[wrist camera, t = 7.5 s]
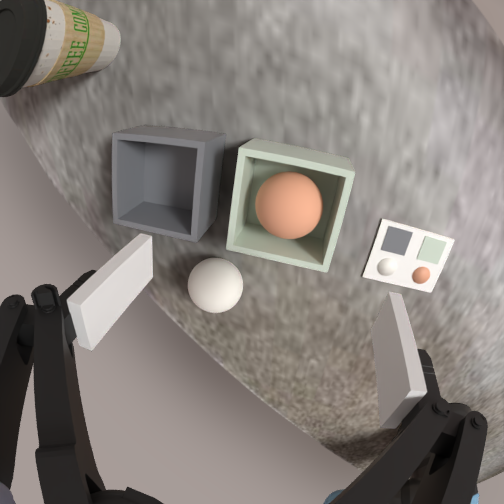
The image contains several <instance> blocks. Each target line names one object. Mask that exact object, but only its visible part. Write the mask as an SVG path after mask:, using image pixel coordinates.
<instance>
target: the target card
mask: <svg viewBox="0 0 504 504" xmlns="http://www.w3.org/2000/svg"><path fill="white" fill-rule="evenodd" d="M453 243H454V239H452V238H449V237H446V236H442V235H439V234H436V233H432V232H429V231H425V230H422V229H418V228H415V227H411V226H408V225H404V224H401V223H397V222H393V221H390V220H386V219H382V221H381V224H380V227H379V230H378V233H377V236H376V239H375V242H374V245H373V248H372V251H371V254H370V256H369V259H368V262H367V265H366V268H365V270H364V273H363V276H362V277H365V278H369V279H374V280H378V281H382V282H387V283H391V284H395V285H400V286H404V287H409V288H413V289H417V290H422V291H426V292H432V290H433V288H434V286H435V284H436V282H437V279H438V277H439V275H440V273H441V271H442V269H443V266H444V264H445V262H446V259H447V257H448V255H449V252H450V250H451V248H452V245H453Z"/></svg>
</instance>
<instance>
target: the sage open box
mask: <svg viewBox="0 0 504 504" xmlns="http://www.w3.org/2000/svg"><path fill="white" fill-rule="evenodd" d="M287 171H292V172H297V173H301V174H303V175H305V176H307V177H308V178H310V179H311V180H312V181H313V182H314V183H315V184H316V185H317V187H318V188H319V190H320V193H321V195H322V199H323V212H322V216H321V219H320V221H319V223H318V224H317V226H316V227H315V228H314V229H313V230H312V231H311V232H310V233H308V234H307V235H305V236H303V237H300V238H296V239H283V238H279V237H277V236H274V235H272V234H271V233H269V232H268V231H267V230H266V229H265V228H264V227H263V226H262V225H261V223H260V221H259V219H258V217H257V214H256V208H255V202H256V196H257V193H258V191H259V189H260V187H261V186H262V184H263V183H264V182H265V181H266V180H267V179H268V178H270V177H271V176H273V175H275V174H277V173H281V172H287ZM354 175H355V170H354V168H353V166H352V164H351V162H350V160H349V158H346V157H342V156H338V155H334V154H330V153H325V152H321V151H317V150H312V149H308V148H303V147H298V146H293V145H288V144H283V143H278V142H273V141H267V140H262V139H256V138H254V139H252V140H250V141H249V142H247V143H245V144H244V145H242V146H240V147H239V151H238V158H237V166H236V173H235V181H234V188H233V196H232V204H231V212H230V220H229V228H228V237H227V245H226V250H230V251H235V252H239V253H244V254H248V255H252V256H257V257H261V258H265V259H270V260H274V261H278V262H283V263H287V264H292V265H296V266H300V267H305V268H309V269H313V270H318V271H322V272H328V269H329V266H330V262H331V259H332V256H333V252H334V249H335V246H336V242H337V239H338V235H339V232H340V228H341V225H342V221H343V217H344V214H345V210H346V206H347V203H348V199H349V195H350V191H351V187H352V183H353V179H354Z"/></svg>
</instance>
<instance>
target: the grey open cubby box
mask: <svg viewBox="0 0 504 504" xmlns="http://www.w3.org/2000/svg"><path fill="white" fill-rule="evenodd" d="M225 139H226V134H224V133H217V132H210V131H202V130H193V129H185V128H175V127H165V126H153V125H142V126H137V127H133V128H129V129H125V130H121V131H117V132H114V133H112V203H113V223H114V224H118V225H122V226H127V227H131V228H135V229H140V230H144V231H148V232H153V233H157V234H161V235H165V236H170V237H174V238H178V239H183V240H187V241H191V242H196V243H197V242H198V240H199V239H200V238H201V237H202V235H203V234H204V233H205V232H206V231H207V229H208V228H209V227H210V226H211V224H212V223H213V222H214V221H215V220H216V217H217V208H218V199H219V189H220V181H221V172H222V163H223V155H224V147H225Z"/></svg>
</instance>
